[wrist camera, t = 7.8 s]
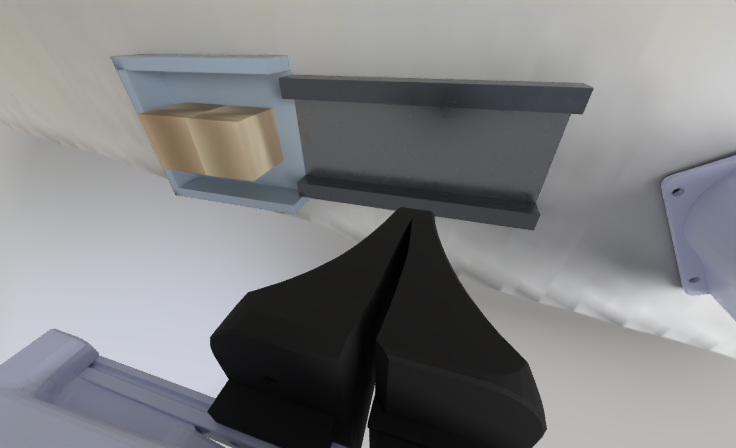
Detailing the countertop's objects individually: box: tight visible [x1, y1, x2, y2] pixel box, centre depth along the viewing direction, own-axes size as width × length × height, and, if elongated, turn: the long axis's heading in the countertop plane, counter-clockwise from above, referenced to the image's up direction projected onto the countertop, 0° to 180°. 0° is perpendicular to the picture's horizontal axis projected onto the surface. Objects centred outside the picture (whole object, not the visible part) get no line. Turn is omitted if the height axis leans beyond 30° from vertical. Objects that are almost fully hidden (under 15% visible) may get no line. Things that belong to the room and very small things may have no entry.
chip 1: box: [138, 102, 226, 175], centre depth 21 cm, size 4×4×4 cm
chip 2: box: [185, 105, 284, 182], centre depth 20 cm, size 4×4×4 cm
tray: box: [110, 54, 310, 214], centre depth 21 cm, size 12×11×3 cm
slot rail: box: [278, 75, 593, 230], centre depth 18 cm, size 17×8×2 cm, turn 91°
